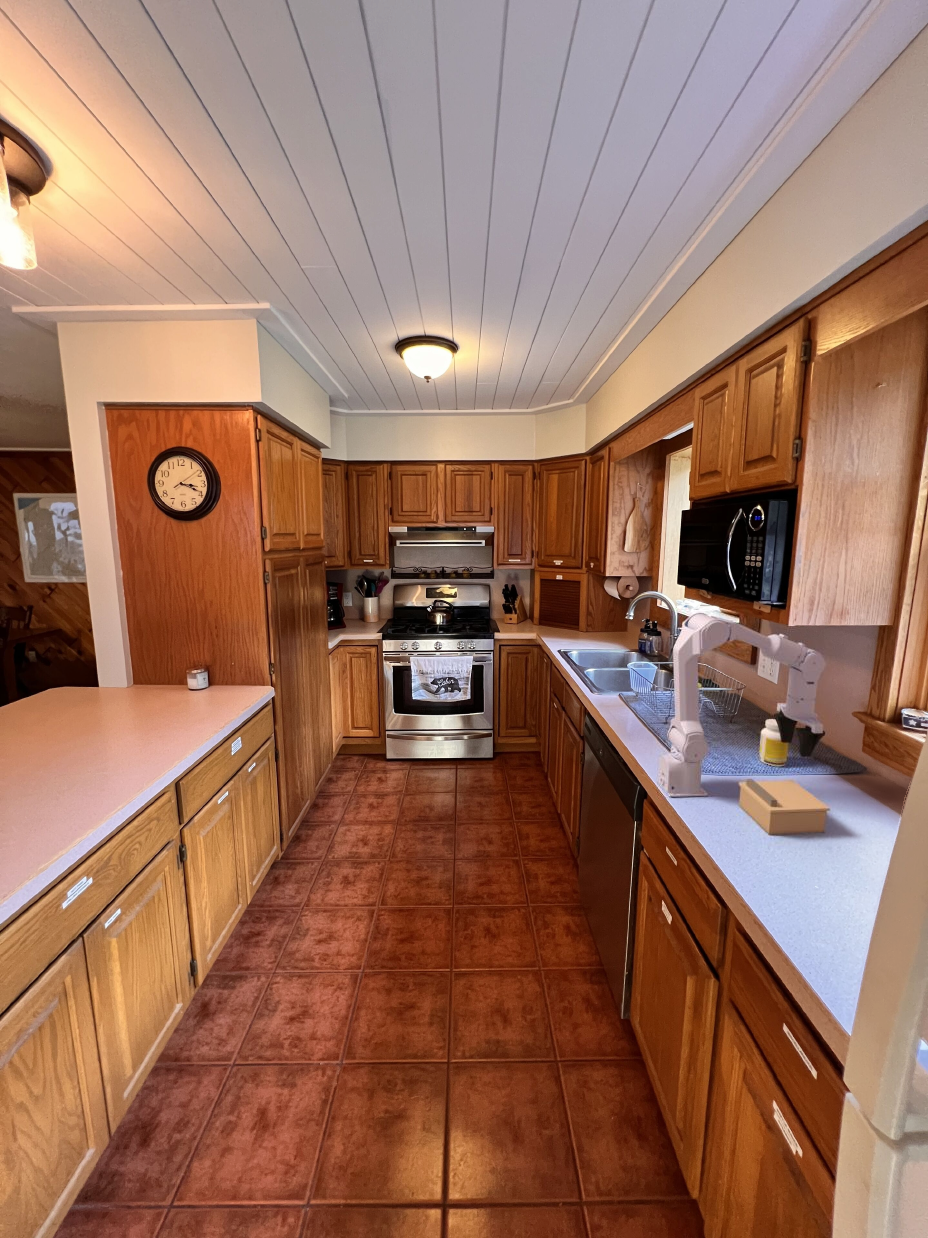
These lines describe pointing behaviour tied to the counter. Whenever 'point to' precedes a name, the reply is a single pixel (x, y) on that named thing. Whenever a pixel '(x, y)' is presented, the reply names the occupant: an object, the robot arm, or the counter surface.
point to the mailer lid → (782, 796)
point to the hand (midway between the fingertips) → (795, 749)
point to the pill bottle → (772, 745)
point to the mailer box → (782, 818)
